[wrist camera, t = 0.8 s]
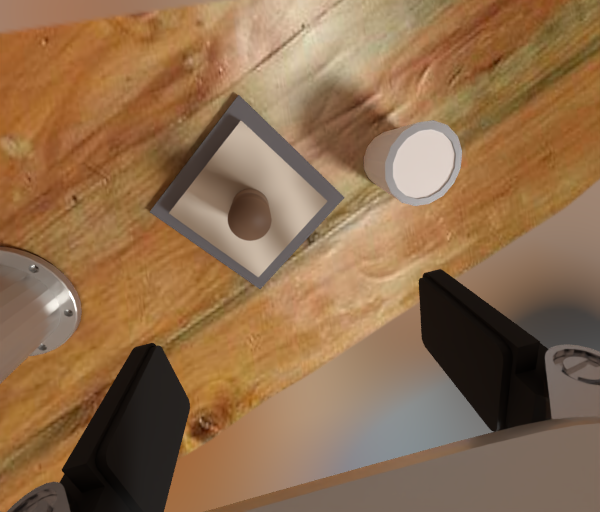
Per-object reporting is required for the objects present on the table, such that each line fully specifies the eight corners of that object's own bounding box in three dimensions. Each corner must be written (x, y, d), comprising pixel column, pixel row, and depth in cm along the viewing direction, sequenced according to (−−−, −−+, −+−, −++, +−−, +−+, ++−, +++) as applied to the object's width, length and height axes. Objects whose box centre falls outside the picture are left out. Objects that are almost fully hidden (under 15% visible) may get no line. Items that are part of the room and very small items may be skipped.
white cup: (362, 121, 29) (393, 116, 22) (426, 126, 30) (473, 123, 24) (353, 191, 31) (378, 204, 25) (412, 193, 32) (451, 207, 26)
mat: (260, 287, 34) (260, 289, 34) (151, 210, 29) (149, 211, 29) (343, 196, 31) (344, 197, 31) (238, 95, 26) (238, 94, 26)
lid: (258, 272, 33) (258, 301, 27) (171, 210, 29) (151, 228, 23) (324, 199, 31) (340, 212, 25) (241, 121, 27) (238, 116, 21)
